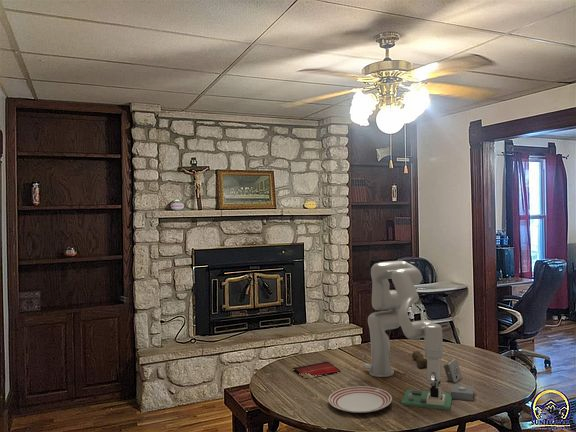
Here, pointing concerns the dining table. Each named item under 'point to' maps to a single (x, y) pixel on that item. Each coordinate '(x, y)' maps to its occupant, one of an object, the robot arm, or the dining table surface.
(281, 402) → the dining table surface
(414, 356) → the brown bone-shaped piece
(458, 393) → the grey knob block
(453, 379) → the electrical switch
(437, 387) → the plug
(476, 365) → the dining table surface
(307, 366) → the binder
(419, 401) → the board
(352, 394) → the dinner plate
